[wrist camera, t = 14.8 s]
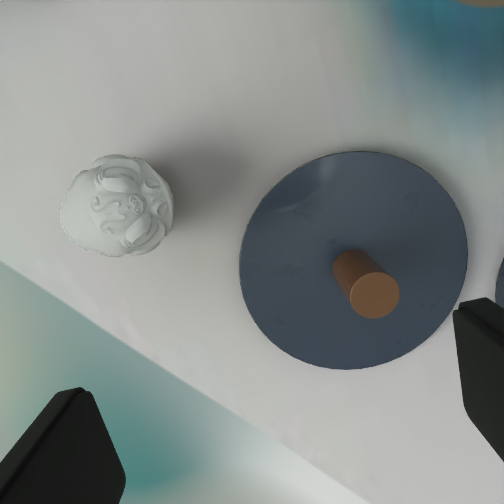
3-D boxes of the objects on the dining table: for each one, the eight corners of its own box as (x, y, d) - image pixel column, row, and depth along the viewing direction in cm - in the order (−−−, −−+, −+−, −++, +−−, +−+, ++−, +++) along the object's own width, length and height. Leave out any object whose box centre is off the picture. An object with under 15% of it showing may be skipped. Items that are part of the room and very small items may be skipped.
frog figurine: (202, 225, 27) (185, 250, 20) (110, 256, 27) (63, 292, 21) (169, 138, 25) (139, 135, 19) (72, 174, 26) (9, 183, 19)
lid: (212, 186, 26) (200, 197, 20) (443, 122, 25) (501, 114, 19) (270, 382, 30) (275, 439, 24) (472, 334, 29) (528, 381, 23)
